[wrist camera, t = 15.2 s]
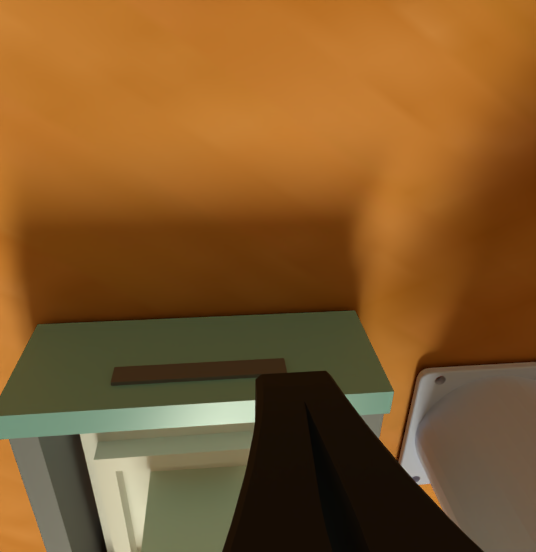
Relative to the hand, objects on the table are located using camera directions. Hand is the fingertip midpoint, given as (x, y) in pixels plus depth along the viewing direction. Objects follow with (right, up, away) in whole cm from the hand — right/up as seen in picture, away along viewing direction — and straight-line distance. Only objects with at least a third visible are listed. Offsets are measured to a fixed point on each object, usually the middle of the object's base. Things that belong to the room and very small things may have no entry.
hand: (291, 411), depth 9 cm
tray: (-3, -6, +15) cm, 16 cm away
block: (-4, -9, +15) cm, 18 cm away
